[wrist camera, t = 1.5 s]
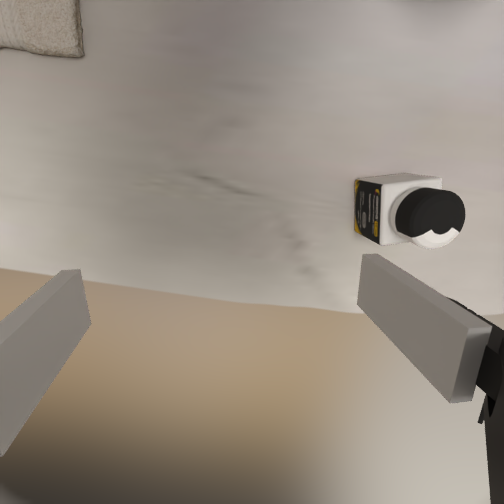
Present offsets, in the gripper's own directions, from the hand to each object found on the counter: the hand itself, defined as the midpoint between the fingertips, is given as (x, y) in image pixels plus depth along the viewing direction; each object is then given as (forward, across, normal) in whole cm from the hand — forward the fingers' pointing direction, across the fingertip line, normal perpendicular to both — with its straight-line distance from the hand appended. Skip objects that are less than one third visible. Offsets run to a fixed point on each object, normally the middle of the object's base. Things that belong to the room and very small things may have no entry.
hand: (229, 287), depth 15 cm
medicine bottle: (+26, +22, -1) cm, 34 cm away
